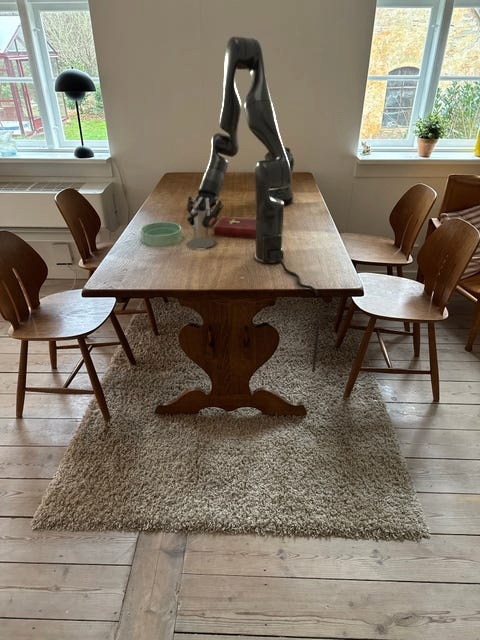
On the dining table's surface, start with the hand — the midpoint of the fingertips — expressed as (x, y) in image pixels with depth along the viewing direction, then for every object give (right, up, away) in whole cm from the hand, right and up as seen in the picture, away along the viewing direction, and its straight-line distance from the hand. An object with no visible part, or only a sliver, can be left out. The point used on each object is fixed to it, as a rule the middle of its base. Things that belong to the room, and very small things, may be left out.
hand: (197, 225), depth 165 cm
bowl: (-15, -4, +10) cm, 18 cm away
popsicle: (+2, +7, +27) cm, 28 cm away
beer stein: (+33, +23, +52) cm, 65 cm away
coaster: (+1, -6, +5) cm, 8 cm away
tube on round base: (0, -5, +2) cm, 5 cm away
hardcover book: (+17, 0, +16) cm, 23 cm away
